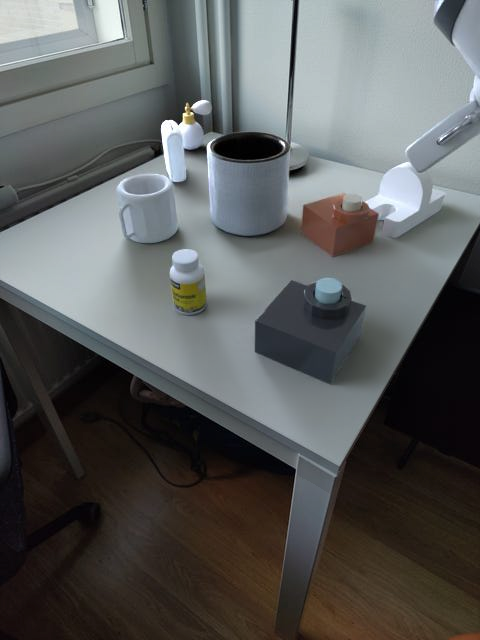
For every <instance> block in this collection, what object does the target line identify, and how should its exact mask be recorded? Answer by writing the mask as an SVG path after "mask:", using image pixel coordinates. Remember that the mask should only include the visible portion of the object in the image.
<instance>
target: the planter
mask: <svg viewBox="0 0 480 640" xmlns="http://www.w3.org/2000/svg"><path fill="white" fill-rule="evenodd" d="M206 157H207V172H208V192H209V193H208V194H209V212H210V218H211V221H212V223H213V224H214V225H215V227H217V228H219V229H220V230H222V231H224V232H226V233H229V234H231V235H236V236H242V237H243V236H244V237H254V236H261V235H266V234H269V233H271V232H273V231H275V230H278V229H279V228H280V227H282V226H283V224H285V222H286V221H287V217H288V214H289V213H288V211H289V186H290V162H291V144H290V143H289V141H287V139H285V138H284V137H282V136H279V135H276V134H273V133H270V132H264V131H252V130H250V131H249V130H248V131H236V132H229V133H225V134H223V135H220V136H217V137H215V138H214V139H212V140H211V141H210V142H209V143H208V144H207V146H206Z"/></svg>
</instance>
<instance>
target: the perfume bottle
mask: <svg viewBox="0 0 480 640" xmlns="http://www.w3.org/2000/svg"><path fill="white" fill-rule="evenodd" d="M212 110H213V105H212V103H211V102H210V101H209V100H207V99H206V100H205V99H203V100H199V101H197V102H195V103H194V104H193V105H192V106H191V107H190V104H189V103H188V102H186V103H185V107H184V111H185V112H184V113H182V122H180V124H179V125H178V126H179V128H180V130H181V133H182V137H183V147H184V150H185V149H186V150H191V151H192V150H196V149H198V148H199V147H201V146H202V144H203V142H204V139H205V133H204V129H203V127H202V126H201V125H200V123H198V122H197V121H196V120H195V114H197V115H201V116H206V115H210V113H211V112H212ZM191 111H193V112H194V113H193V112H191Z"/></svg>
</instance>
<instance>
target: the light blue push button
mask: <svg viewBox="0 0 480 640" xmlns="http://www.w3.org/2000/svg"><path fill="white" fill-rule="evenodd" d="M316 282H317V283H316V288H315V298H316V300H317V301H319V302H321V303H324V304H335V303H337V302H338V301H339V300H340V298H341V292H342V285H343V284H342V283H341V281H340V280H338V279H336V278H333V277H322V278H320V279H318V280H317V281H316Z"/></svg>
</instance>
